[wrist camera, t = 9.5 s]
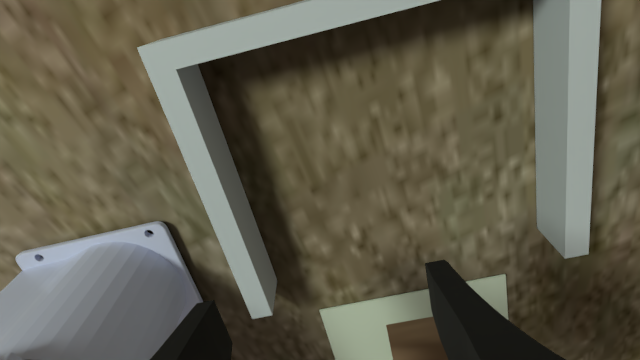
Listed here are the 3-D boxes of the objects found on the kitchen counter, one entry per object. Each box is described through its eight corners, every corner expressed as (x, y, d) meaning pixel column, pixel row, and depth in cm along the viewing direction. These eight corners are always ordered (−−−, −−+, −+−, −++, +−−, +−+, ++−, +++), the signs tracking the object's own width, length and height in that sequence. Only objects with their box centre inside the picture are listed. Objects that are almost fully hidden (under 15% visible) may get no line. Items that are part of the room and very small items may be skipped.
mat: (351, 406, 31) (351, 408, 31) (319, 309, 27) (319, 310, 26) (511, 380, 30) (512, 381, 30) (504, 273, 25) (505, 274, 25)
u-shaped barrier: (259, 284, 26) (252, 319, 23) (162, 39, 19) (137, 47, 17) (557, 223, 24) (588, 254, 21) (560, -70, 17) (605, -79, 15)
